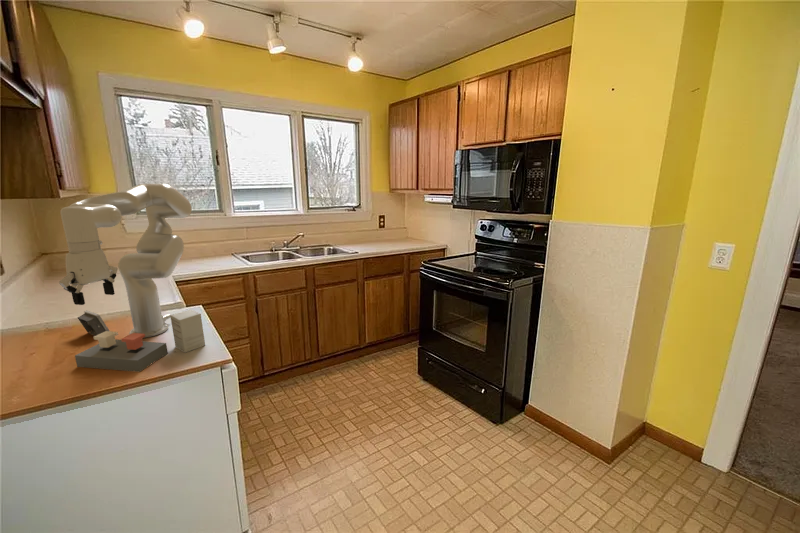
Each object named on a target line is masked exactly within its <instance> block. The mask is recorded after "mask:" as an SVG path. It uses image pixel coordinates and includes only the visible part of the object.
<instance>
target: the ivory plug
mask: <svg viewBox="0 0 800 533" xmlns="http://www.w3.org/2000/svg"><path fill="white" fill-rule="evenodd" d="M118 332H119V331H113V330H112V331H111V330H109V331H105V332H103V333H101V334H98V335H96V336H95V335H93V340H95V341H98V344H99V346H100V347H105V348H108V347H110V346H112V345H114V344H116V340H115V339H116V336H118V335H119V333H118Z"/></svg>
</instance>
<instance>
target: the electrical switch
mask: <svg viewBox="0 0 800 533" xmlns="http://www.w3.org/2000/svg"><path fill="white" fill-rule="evenodd" d="M77 319H78V321H79V322H80V323H81V325H82V327H83V328H84V329H85V331H86V332H87V334H90V335H92V336H96V335H98V334H101V333H103V332H105V331H110V329H109V328H108V326H107V324H106V322H105V321H104V320H103V318H102V317H101V315H100V314H99V313H95V312H94V311H93V312H92V311H91V310H90V311H89V310H84V311H83V314H82V315H79V316H78V317H77Z"/></svg>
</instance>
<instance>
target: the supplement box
mask: <svg viewBox="0 0 800 533" xmlns="http://www.w3.org/2000/svg"><path fill="white" fill-rule="evenodd" d="M170 317H171V318H170V322H171V328H172V329H171V330H172V333H173V335H172V336H173V340H174V341H173V342H174V346H175V348H177V349H179V350H180V351H181V352H183V353H188V352H190V351H193V350H196V349H198V348H201V347H204V346H205V345H206V342H205V336H204V327H203V321H202V313H200V312H197V311H195V310H193V309H191V308H190V309H186V310H184V311H180V312H176V313H173V314H170Z"/></svg>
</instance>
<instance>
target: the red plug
mask: <svg viewBox="0 0 800 533" xmlns="http://www.w3.org/2000/svg"><path fill="white" fill-rule="evenodd" d="M144 337H145V334H141V333H132V334H128V335H127V336H124V337H122V338H121V339H120V340H122V342H126V345H127V349H132V350H136V349H138V348H140V347H142V346H143V342H142V341H143V339H145V338H144Z"/></svg>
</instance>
